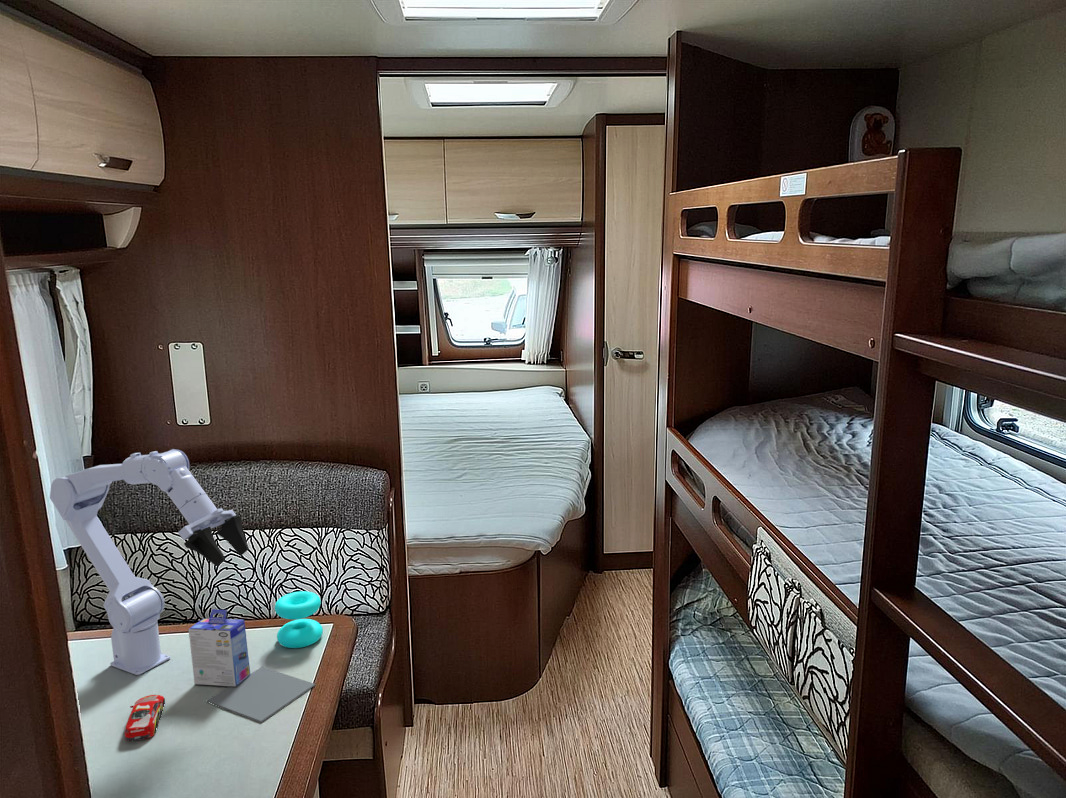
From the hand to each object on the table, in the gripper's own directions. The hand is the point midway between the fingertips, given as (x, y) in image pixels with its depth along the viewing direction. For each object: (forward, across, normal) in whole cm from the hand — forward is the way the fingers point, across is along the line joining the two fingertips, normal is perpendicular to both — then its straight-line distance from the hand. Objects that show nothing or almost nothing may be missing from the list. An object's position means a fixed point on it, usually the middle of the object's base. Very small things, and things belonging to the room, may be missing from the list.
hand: (233, 557), depth 148 cm
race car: (+16, -12, +27) cm, 34 cm away
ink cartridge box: (+18, +3, +22) cm, 28 cm away
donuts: (+20, +22, +16) cm, 34 cm away
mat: (+24, 0, +14) cm, 28 cm away
